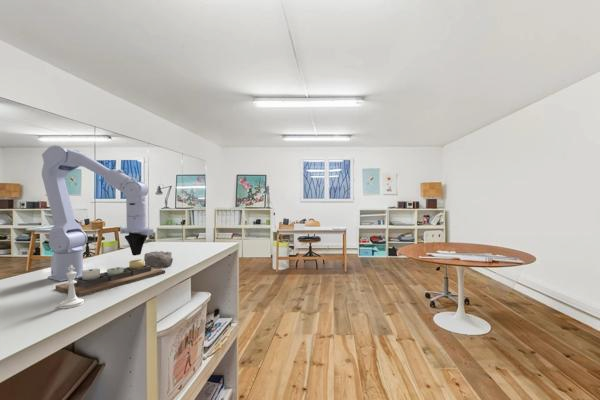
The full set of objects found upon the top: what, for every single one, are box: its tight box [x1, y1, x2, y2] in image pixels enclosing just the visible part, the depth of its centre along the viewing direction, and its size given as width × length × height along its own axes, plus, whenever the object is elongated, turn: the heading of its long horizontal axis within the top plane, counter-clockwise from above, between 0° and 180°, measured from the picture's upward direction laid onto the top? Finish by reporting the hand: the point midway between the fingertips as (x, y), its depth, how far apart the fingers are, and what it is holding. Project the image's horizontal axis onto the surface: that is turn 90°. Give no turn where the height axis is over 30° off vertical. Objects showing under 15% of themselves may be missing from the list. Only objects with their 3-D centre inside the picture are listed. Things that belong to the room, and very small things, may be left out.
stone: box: [143, 250, 174, 268], centre depth 108 cm, size 8×10×6 cm
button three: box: [128, 258, 145, 269], centre depth 95 cm, size 4×4×3 cm
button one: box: [81, 268, 101, 280], centre depth 83 cm, size 4×4×3 cm
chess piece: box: [58, 265, 85, 310], centre depth 69 cm, size 5×5×10 cm
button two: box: [106, 266, 124, 275], centre depth 89 cm, size 4×4×3 cm
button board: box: [55, 264, 166, 297], centre depth 89 cm, size 14×26×3 cm, turn 153°
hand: (136, 254), depth 95 cm, fingers closed
